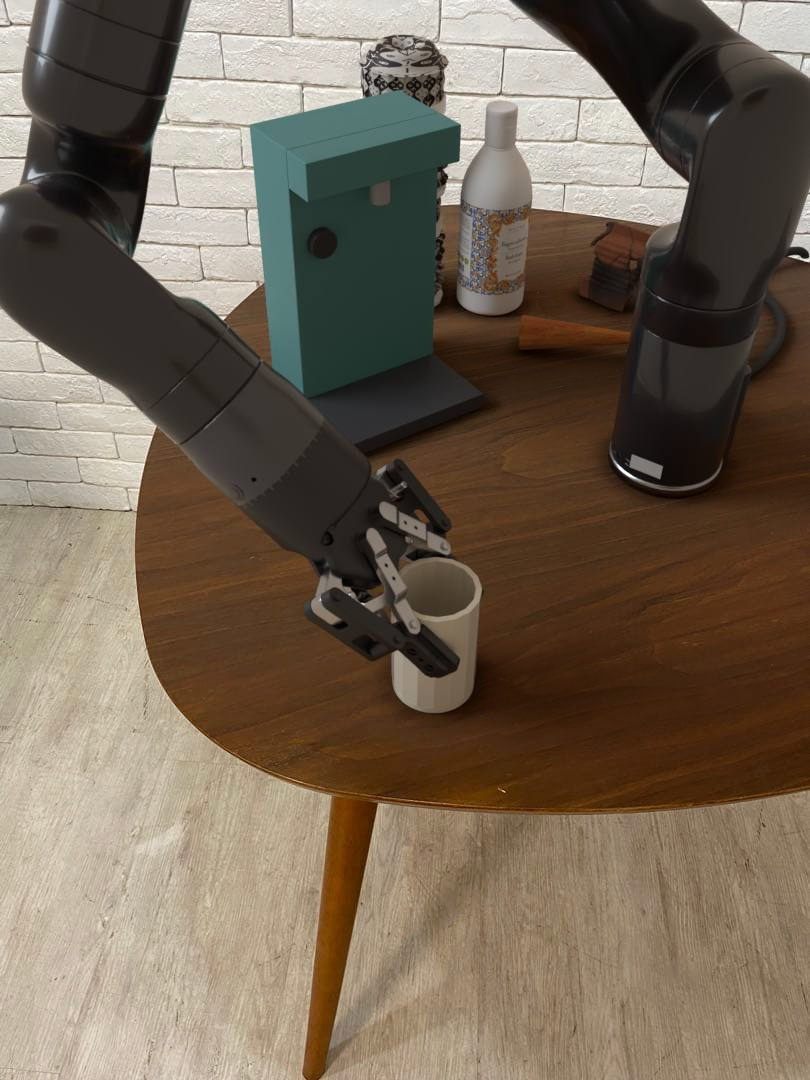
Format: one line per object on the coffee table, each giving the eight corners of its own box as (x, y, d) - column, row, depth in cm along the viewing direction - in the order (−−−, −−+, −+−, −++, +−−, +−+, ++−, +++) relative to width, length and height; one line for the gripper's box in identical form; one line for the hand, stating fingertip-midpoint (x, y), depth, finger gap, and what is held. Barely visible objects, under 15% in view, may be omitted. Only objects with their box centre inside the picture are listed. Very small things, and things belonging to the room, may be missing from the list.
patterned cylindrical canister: (343, 306, 108) (334, 52, 92) (379, 266, 115) (377, 22, 98) (425, 324, 106) (431, 66, 89) (458, 283, 112) (469, 34, 95)
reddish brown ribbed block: (555, 287, 112) (584, 211, 110) (622, 310, 117) (650, 237, 115) (620, 313, 103) (653, 230, 100) (689, 336, 107) (722, 257, 105)
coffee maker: (398, 338, 104) (398, 89, 88) (482, 407, 95) (500, 145, 79) (273, 381, 98) (248, 124, 82) (351, 459, 90) (340, 188, 73)
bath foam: (482, 324, 106) (494, 125, 92) (443, 295, 110) (449, 101, 97) (536, 305, 109) (555, 109, 95) (495, 278, 113) (509, 87, 99)
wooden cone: (526, 292, 103) (738, 302, 98) (524, 350, 106) (730, 362, 102) (518, 312, 98) (741, 323, 94) (516, 373, 101) (732, 385, 97)
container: (443, 638, 74) (447, 545, 68) (490, 690, 71) (499, 597, 65) (376, 671, 72) (374, 578, 66) (422, 726, 69) (424, 634, 63)
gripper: (267, 505, 55) (478, 702, 60) (355, 360, 65) (528, 540, 70) (188, 559, 59) (390, 737, 65) (281, 416, 70) (449, 580, 75)
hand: (461, 634), depth 68 cm, fingers closed on container, 5 cm apart
